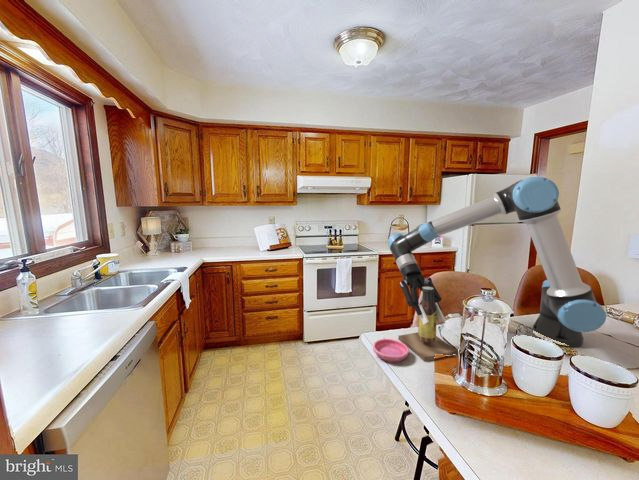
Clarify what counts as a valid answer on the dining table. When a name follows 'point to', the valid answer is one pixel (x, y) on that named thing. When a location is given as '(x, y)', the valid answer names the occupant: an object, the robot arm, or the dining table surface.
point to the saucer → (390, 350)
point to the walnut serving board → (426, 346)
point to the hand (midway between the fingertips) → (434, 321)
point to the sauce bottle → (428, 316)
